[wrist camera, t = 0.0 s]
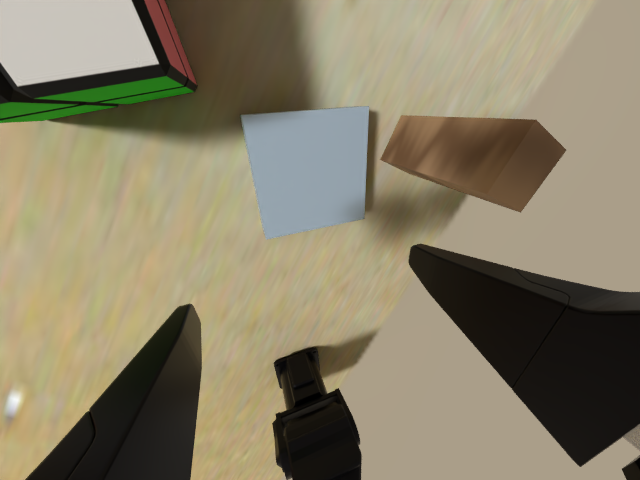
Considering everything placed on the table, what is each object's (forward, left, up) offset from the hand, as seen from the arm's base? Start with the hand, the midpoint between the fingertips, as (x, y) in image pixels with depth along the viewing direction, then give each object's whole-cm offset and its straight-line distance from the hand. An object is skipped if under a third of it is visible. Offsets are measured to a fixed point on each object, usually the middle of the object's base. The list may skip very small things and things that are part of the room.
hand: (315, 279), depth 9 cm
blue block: (+1, -4, -15) cm, 16 cm away
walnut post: (+2, -15, -15) cm, 21 cm away
